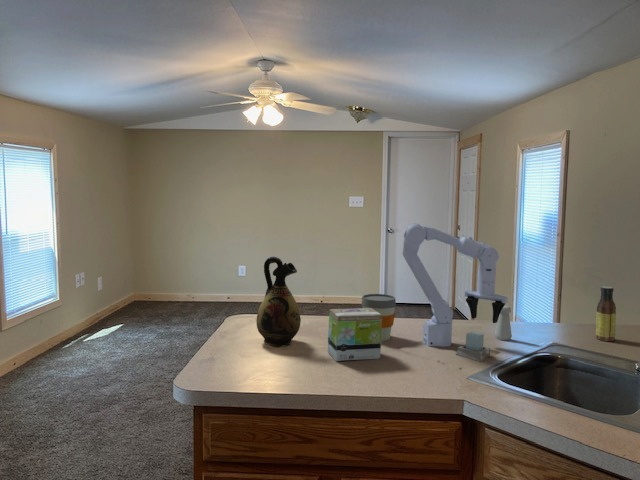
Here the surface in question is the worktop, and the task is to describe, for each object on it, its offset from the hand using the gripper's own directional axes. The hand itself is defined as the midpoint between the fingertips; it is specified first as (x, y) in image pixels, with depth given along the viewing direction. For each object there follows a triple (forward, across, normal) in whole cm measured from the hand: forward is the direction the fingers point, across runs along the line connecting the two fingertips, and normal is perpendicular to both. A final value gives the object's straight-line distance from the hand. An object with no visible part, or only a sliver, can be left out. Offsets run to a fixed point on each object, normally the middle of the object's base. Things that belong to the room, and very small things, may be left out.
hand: (484, 320), depth 166 cm
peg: (+9, -3, +12) cm, 15 cm away
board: (+10, -3, +9) cm, 14 cm away
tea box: (+10, +25, +39) cm, 48 cm away
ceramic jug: (+10, +52, +49) cm, 72 cm away
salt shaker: (+10, -1, -14) cm, 17 cm away
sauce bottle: (+10, -26, -45) cm, 53 cm away
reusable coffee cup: (+10, +33, +17) cm, 38 cm away
